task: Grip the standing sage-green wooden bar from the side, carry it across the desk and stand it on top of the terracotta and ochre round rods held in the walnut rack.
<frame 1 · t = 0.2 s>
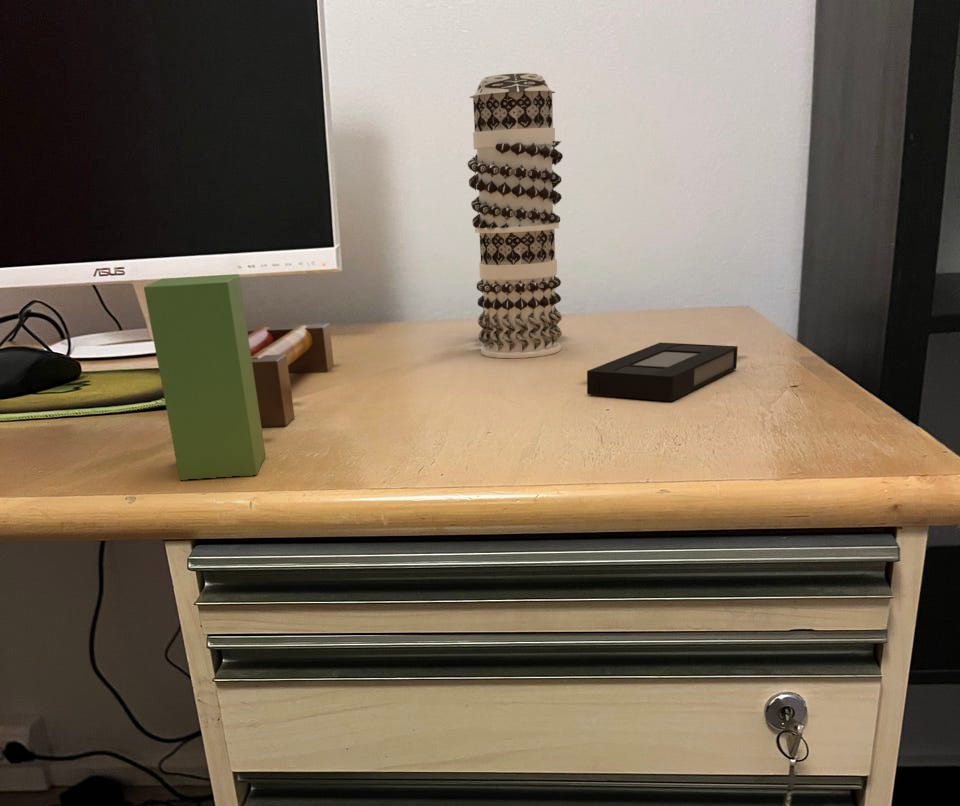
bar: (224, 468, 67), on the table
decorative candle: (521, 352, 103), on the table
vhs tape: (664, 384, 85), on the table
rack: (268, 400, 86), on the table
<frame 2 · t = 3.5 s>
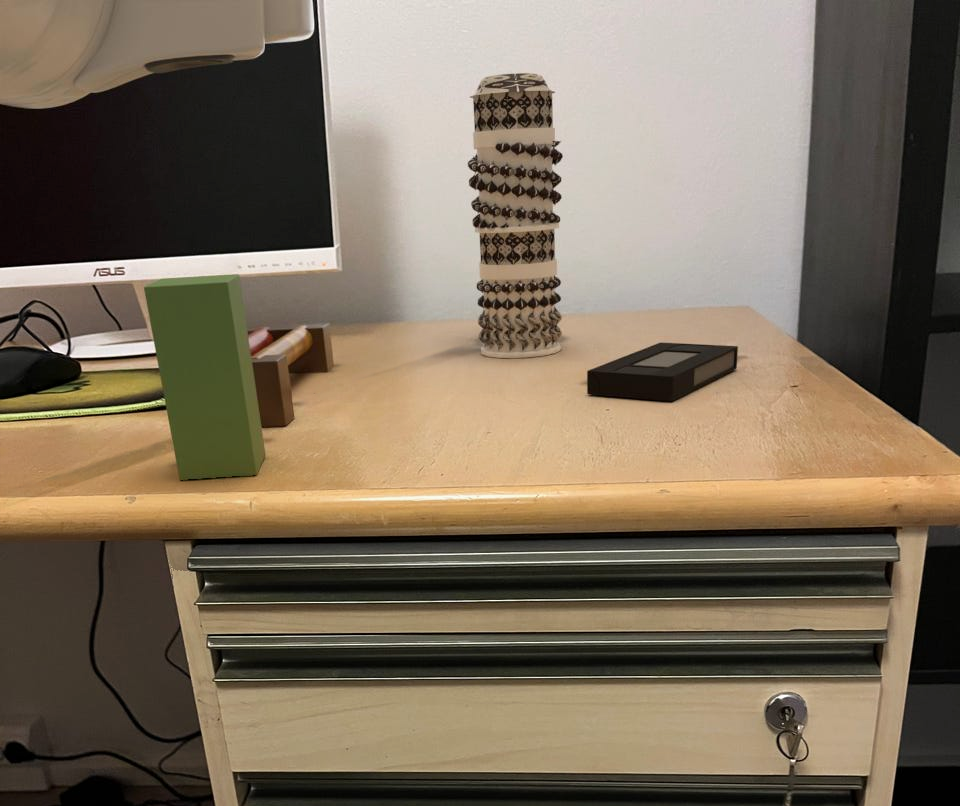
hand: (103, 18, 46), 25 cm above the table, tool horizontal, fingers open, 8 cm apart
nothing on the table moved.
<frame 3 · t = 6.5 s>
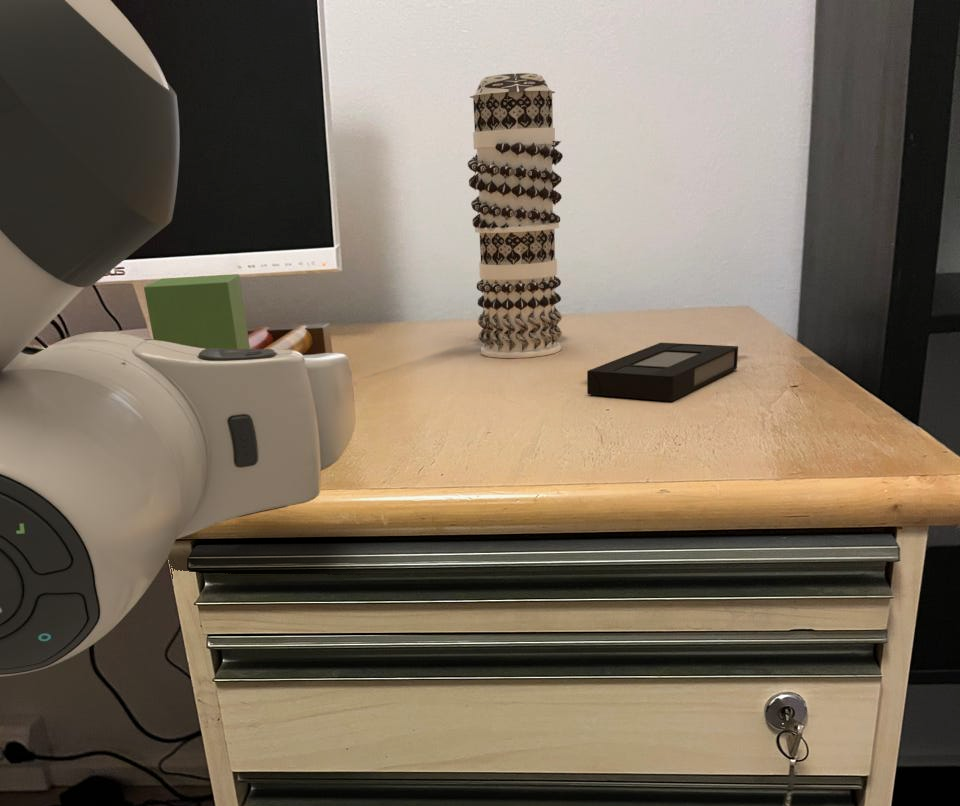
hand: (174, 382, 54), 8 cm above the table, tool horizontal, fingers open, 8 cm apart
nothing on the table moved.
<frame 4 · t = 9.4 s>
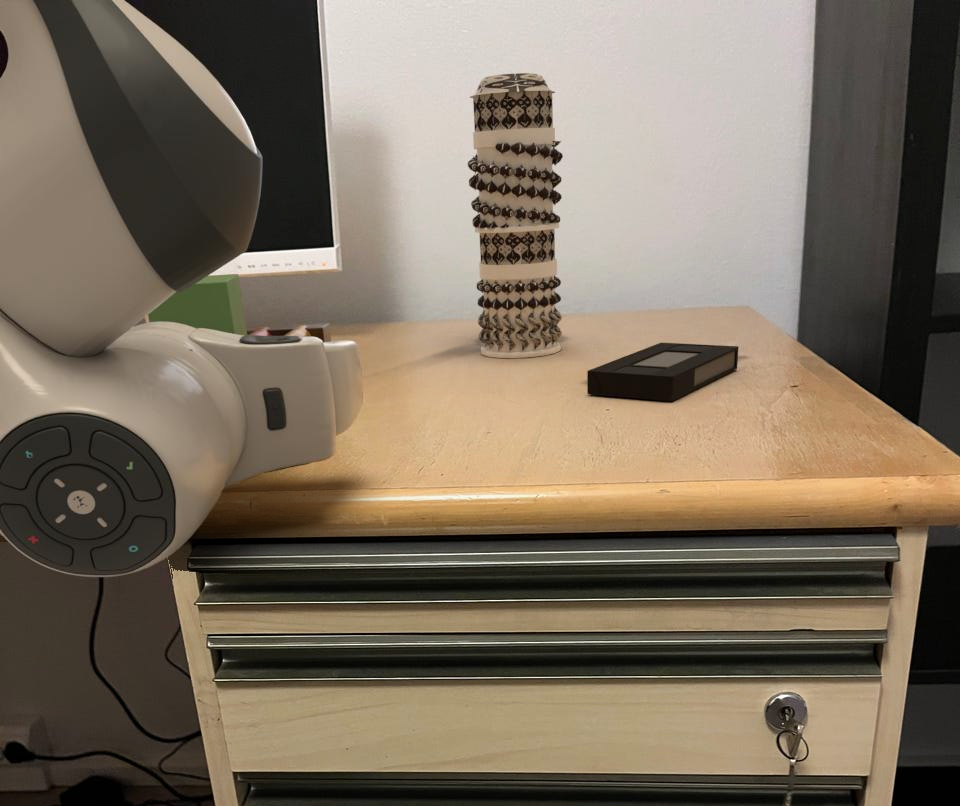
hand: (210, 365, 65), 7 cm above the table, tool horizontal, fingers closed on bar, 5 cm apart
bar: (224, 467, 67), on the table, touching gripper
everything else where it was.
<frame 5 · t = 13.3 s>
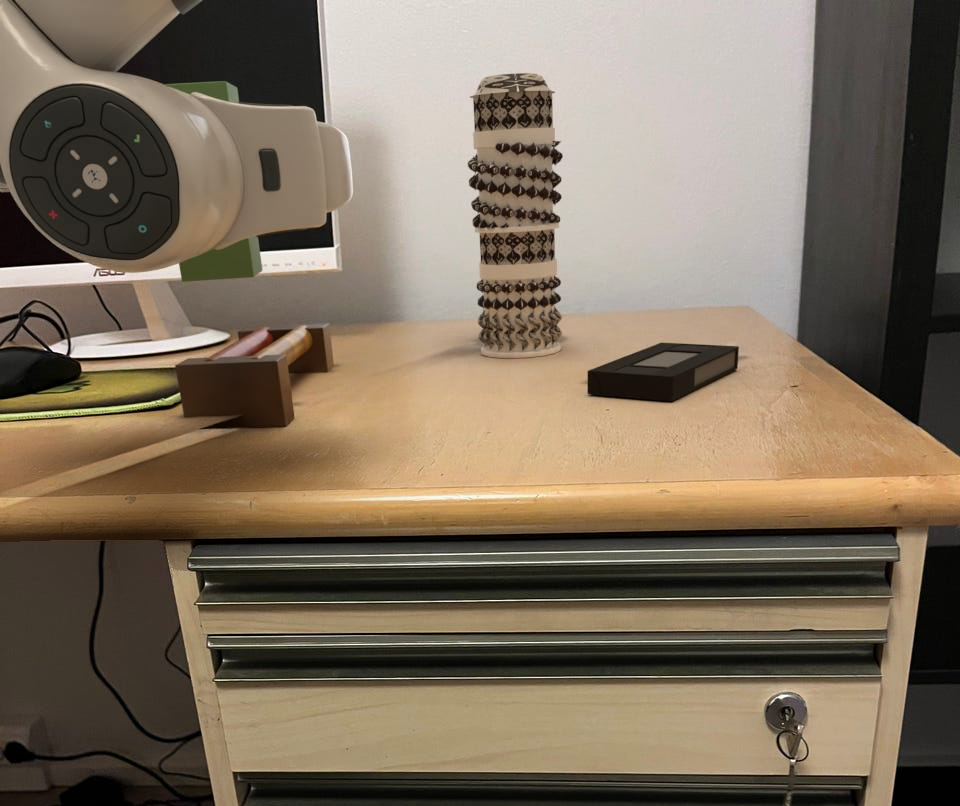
hand: (210, 175, 69), 18 cm above the table, tool horizontal, fingers closed on bar, 5 cm apart
bar: (223, 276, 71), point 11 cm above the table, touching gripper
everything else where it was.
when the fingers open (12 cm above the table, at t = 17.3 s): bar stays where it is, resting on rack.
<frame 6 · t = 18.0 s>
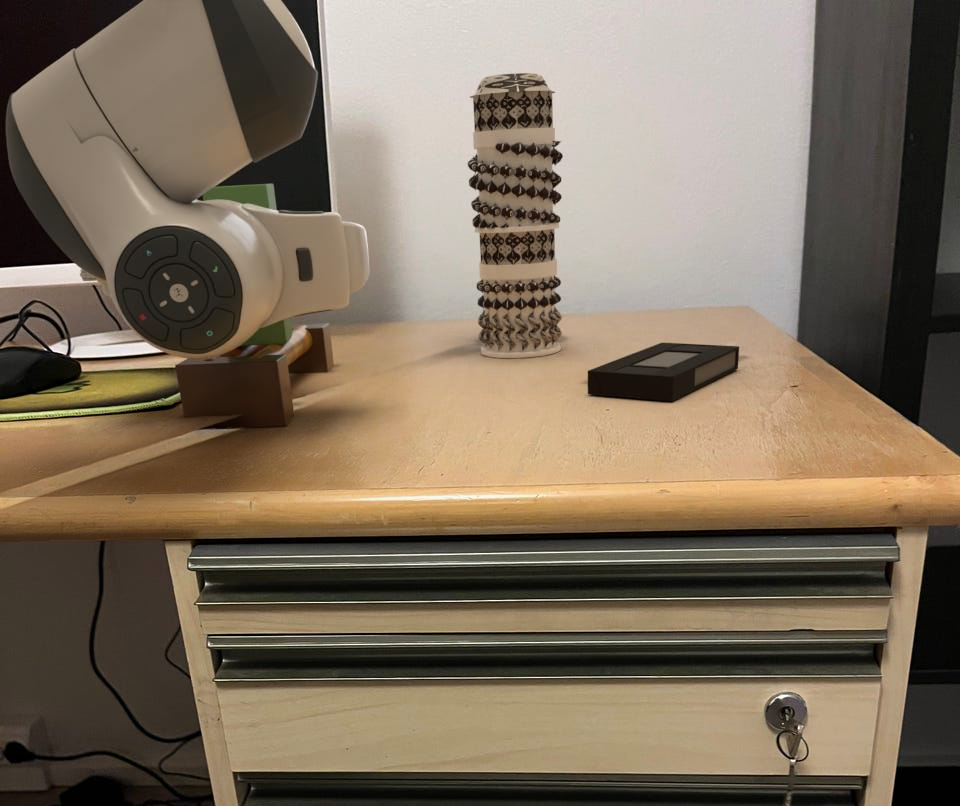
hand: (248, 253, 82), 12 cm above the table, tool horizontal, fingers open, 8 cm apart
bar: (260, 340, 84), point 5 cm above the table, touching rack
everything else where it was.
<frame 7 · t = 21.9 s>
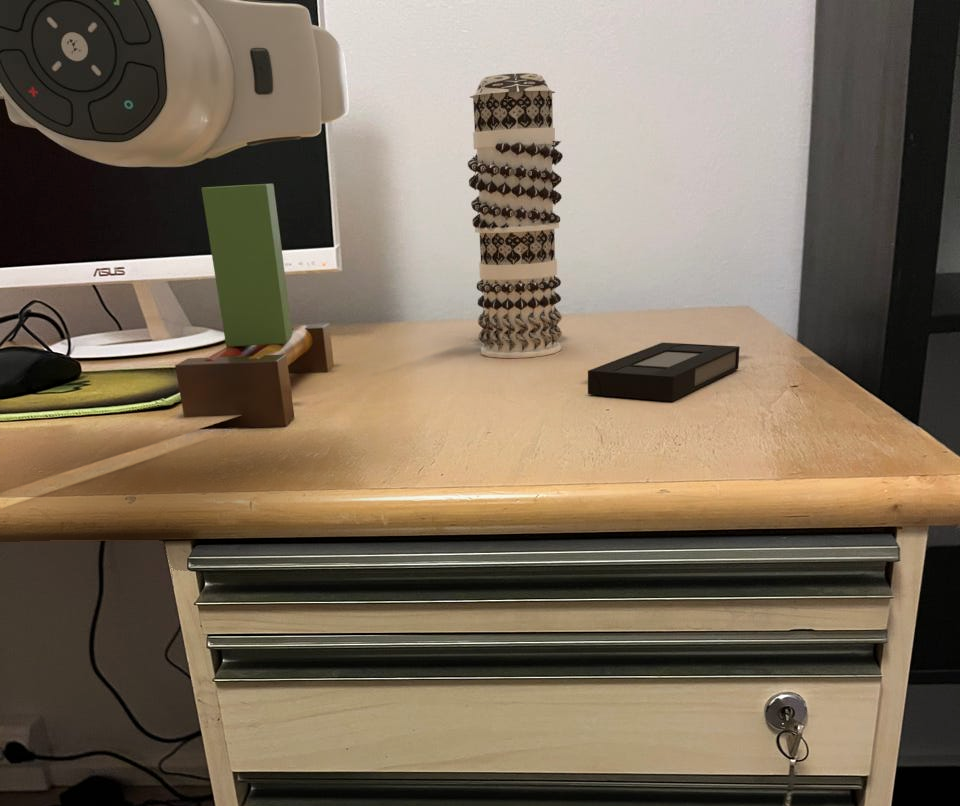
hand: (200, 94, 66), 23 cm above the table, tool horizontal, fingers open, 8 cm apart
nothing on the table moved.
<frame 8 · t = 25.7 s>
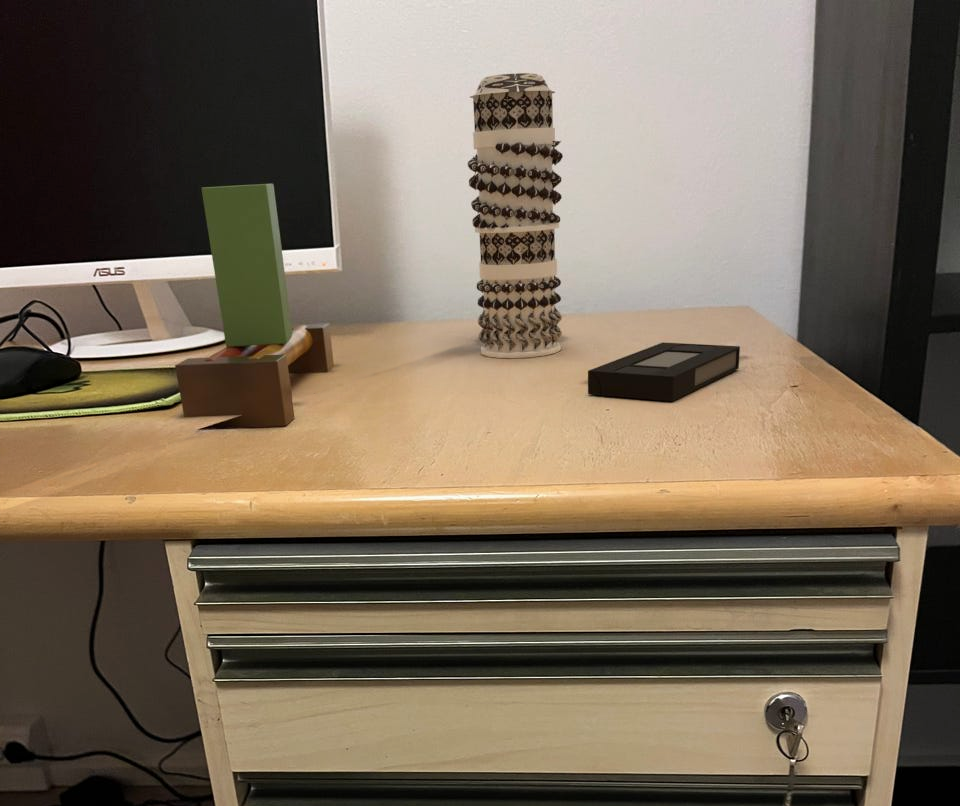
nothing on the table moved.
at the end: bar 0.1 cm off-centre on the rack, point 5.1 cm above the rack's base; bar tilted 0°; the gripper is holding nothing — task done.
